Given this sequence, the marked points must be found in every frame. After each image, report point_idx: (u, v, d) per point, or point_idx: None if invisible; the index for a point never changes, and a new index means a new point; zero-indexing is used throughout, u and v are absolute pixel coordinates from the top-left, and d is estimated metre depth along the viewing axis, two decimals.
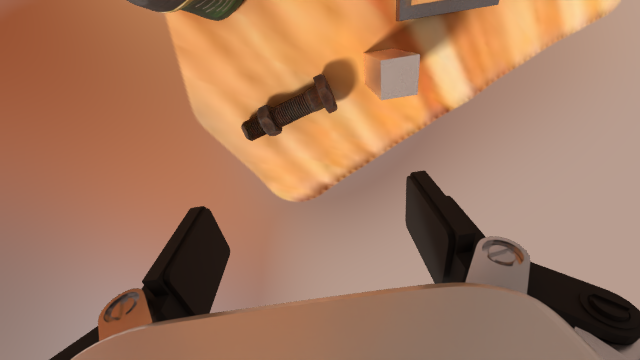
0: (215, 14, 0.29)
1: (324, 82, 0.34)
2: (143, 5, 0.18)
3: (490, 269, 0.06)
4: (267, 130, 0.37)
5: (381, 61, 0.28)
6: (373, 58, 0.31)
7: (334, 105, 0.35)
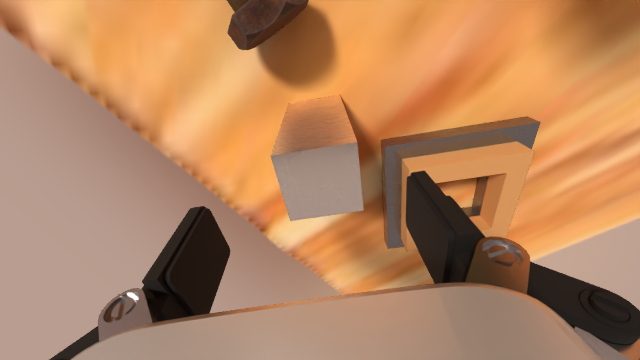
0: None
1: (296, 1, 0.14)
2: None
3: (490, 269, 0.06)
4: None
5: (355, 143, 0.12)
6: (346, 119, 0.15)
7: (249, 38, 0.14)
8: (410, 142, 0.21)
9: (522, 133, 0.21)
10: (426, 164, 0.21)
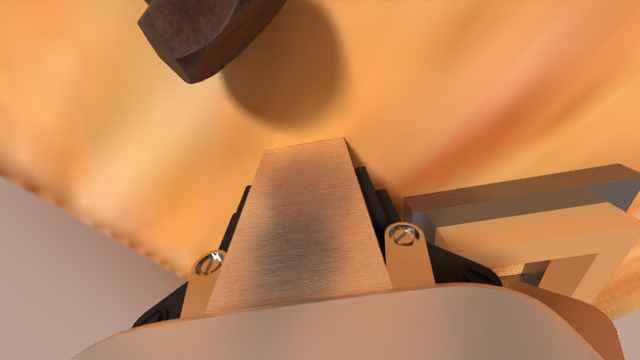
0: None
1: None
2: None
3: (400, 253, 0.07)
4: None
5: None
6: (365, 214, 0.08)
7: (186, 65, 0.07)
8: (450, 206, 0.14)
9: (618, 191, 0.14)
10: (477, 242, 0.14)
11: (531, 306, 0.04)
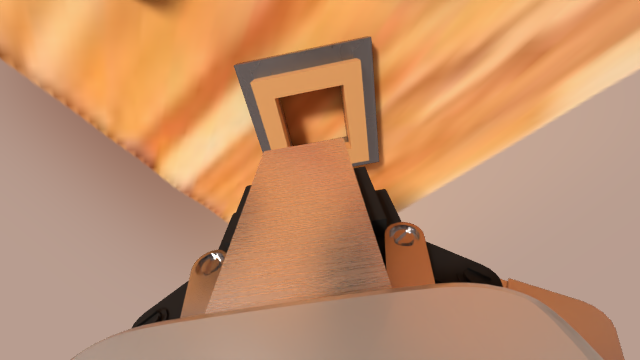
0: None
1: None
2: None
3: (400, 253, 0.07)
4: None
5: None
6: (364, 215, 0.08)
7: None
8: (257, 60, 0.23)
9: (358, 49, 0.23)
10: (268, 78, 0.22)
11: (531, 306, 0.04)
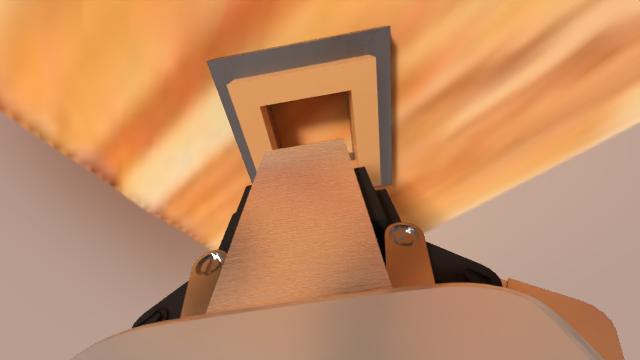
0: None
1: None
2: None
3: (400, 253, 0.07)
4: None
5: None
6: (365, 216, 0.08)
7: None
8: (237, 55, 0.17)
9: (372, 42, 0.17)
10: (251, 79, 0.17)
11: (531, 306, 0.04)
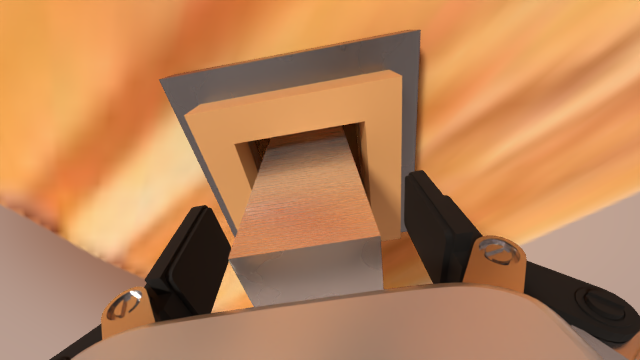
0: None
1: None
2: None
3: (487, 268, 0.06)
4: None
5: (376, 238, 0.07)
6: (355, 173, 0.10)
7: None
8: (202, 71, 0.12)
9: (394, 53, 0.12)
10: (220, 106, 0.12)
11: (531, 306, 0.04)
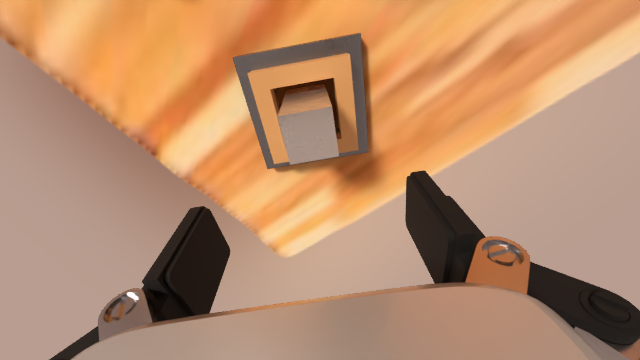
0: None
1: None
2: None
3: (490, 269, 0.06)
4: None
5: (330, 107, 0.19)
6: (327, 96, 0.22)
7: None
8: (254, 53, 0.25)
9: (349, 44, 0.25)
10: (264, 70, 0.24)
11: (531, 306, 0.04)
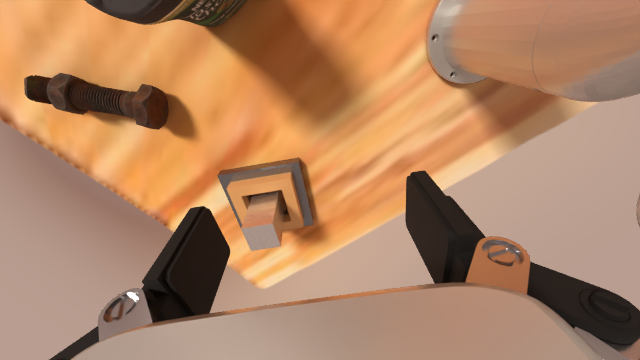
0: None
1: (146, 96, 0.30)
2: None
3: (490, 269, 0.06)
4: (54, 102, 0.30)
5: (271, 224, 0.33)
6: (274, 207, 0.36)
7: (148, 125, 0.31)
8: (231, 173, 0.39)
9: (291, 167, 0.38)
10: (237, 185, 0.38)
11: (531, 306, 0.04)
